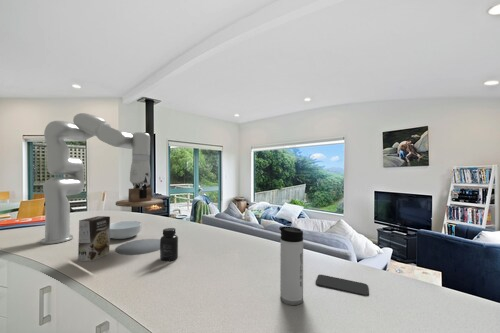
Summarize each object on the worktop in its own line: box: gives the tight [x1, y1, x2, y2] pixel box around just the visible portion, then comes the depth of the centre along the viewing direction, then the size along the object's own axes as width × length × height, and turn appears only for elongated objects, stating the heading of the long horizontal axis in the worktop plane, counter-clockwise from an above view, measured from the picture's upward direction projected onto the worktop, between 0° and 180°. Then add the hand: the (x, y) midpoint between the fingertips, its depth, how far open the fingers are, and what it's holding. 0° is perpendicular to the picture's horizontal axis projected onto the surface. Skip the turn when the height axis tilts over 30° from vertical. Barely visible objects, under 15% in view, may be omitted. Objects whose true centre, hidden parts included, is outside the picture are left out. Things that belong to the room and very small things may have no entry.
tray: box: [114, 238, 161, 256], centre depth 105 cm, size 22×22×1 cm
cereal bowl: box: [110, 220, 142, 240], centre depth 120 cm, size 17×17×7 cm
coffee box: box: [77, 215, 111, 262], centre depth 93 cm, size 9×6×16 cm
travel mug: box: [279, 225, 304, 306], centre depth 64 cm, size 6×7×20 cm
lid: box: [115, 187, 164, 208], centre depth 107 cm, size 20×20×7 cm
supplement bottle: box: [159, 227, 179, 263], centre depth 91 cm, size 7×7×12 cm
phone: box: [315, 274, 370, 297], centre depth 71 cm, size 7×1×15 cm
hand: (140, 197), depth 107 cm, fingers closed on lid, 4 cm apart
